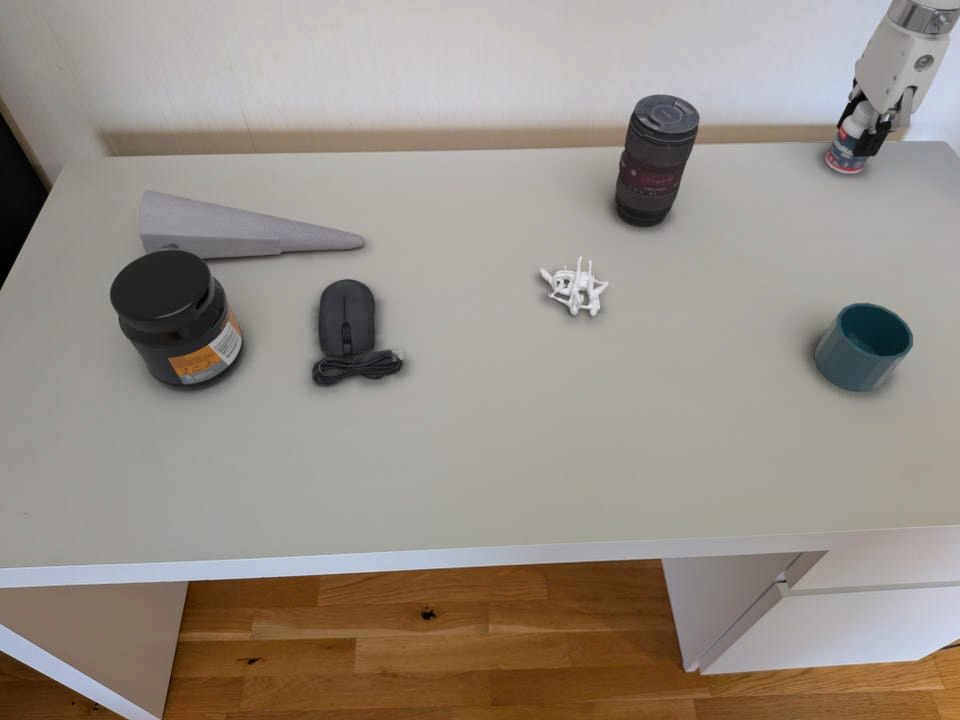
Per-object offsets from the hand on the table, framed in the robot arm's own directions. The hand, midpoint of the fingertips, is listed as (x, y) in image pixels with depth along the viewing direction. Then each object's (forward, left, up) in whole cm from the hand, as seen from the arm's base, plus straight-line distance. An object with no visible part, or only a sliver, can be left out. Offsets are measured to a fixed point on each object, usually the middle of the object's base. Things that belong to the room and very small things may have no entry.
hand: (855, 140), depth 95 cm
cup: (+12, +36, -4) cm, 38 cm away
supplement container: (+85, +33, -4) cm, 91 cm away
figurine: (+42, +25, -4) cm, 49 cm away
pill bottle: (0, 0, -4) cm, 4 cm away
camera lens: (+31, +10, -4) cm, 33 cm away
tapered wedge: (+81, +14, -4) cm, 82 cm away
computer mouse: (+68, +30, -4) cm, 74 cm away
